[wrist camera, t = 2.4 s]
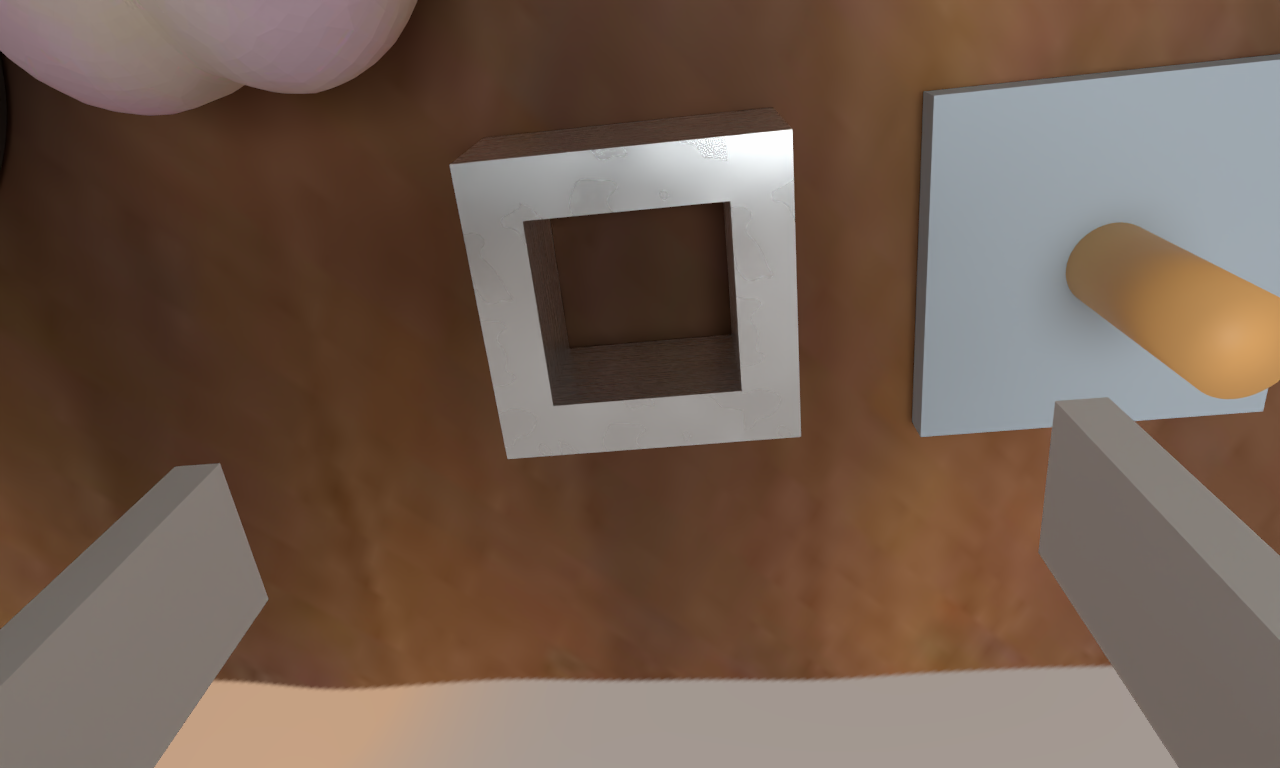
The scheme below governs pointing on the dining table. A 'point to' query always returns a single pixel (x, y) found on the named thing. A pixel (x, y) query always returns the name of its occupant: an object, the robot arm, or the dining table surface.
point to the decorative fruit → (195, 47)
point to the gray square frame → (643, 371)
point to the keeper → (1099, 246)
